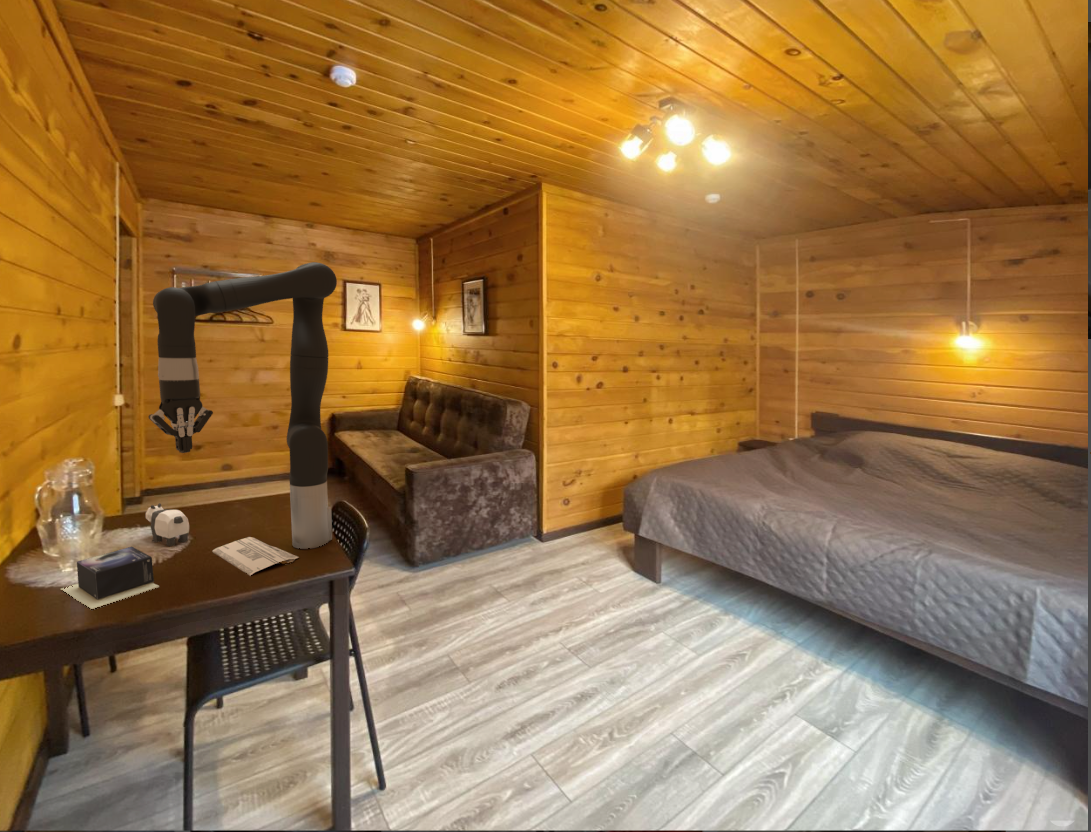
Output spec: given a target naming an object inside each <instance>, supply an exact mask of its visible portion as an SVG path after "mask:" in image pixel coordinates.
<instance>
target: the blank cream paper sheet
mask: <svg viewBox="0 0 1091 832" xmlns="http://www.w3.org/2000/svg"><path fill="white" fill-rule="evenodd" d="M72 586H73V587H72ZM72 586H71V585H69V587H68V586H66V588H65V589H64V587H61V588H60V591H61V590H63V591H64V592H66V593H67V594H66V593H65V594H66V595H68V594H69V595H70V596H69V595H68V596H69V597H71V596H72V597H73V598H72V597H71V598H72V599H74V600H75V599H76V601H77V602H78V601H79V602H78V603H80V602H81V603H80V604H82V605H83V604H84V605H83V606H85V605H86V606H87V607H86V606H85V607H86V608H88V607H89V608H90V609H89V608H88V609H89V610H91V609H94V610H96V609H95V608H97V607H100V608H102V607H101V606H103V605H106V606H108V605H107V604H109V605H111V604H110V603H112V604H114V603H113V602H115V603H117V602H116V601H118V602H120V601H122V599H123V600H126V599H129V598H132V597H134V595H135V596H138V595H140V593H141V594H144V593H146V591H147V592H150V591H153V590H155V588H156V589H158V588H160V585H158V584H156V583H154V582H151V583H148V584H145V585H142V586H138V587H135V588H132V589H129V590H126V591H123V592H120V593H117V594H114V595H111V596H108V597H105V598H101V599H98V600H97V599H95V598H94V597H93V596H91V595H90V594H88V593H87V592H85V591H84V590H83V589H81V588H80V587H79V585H78V583H74V584H72ZM67 587H68V588H67ZM152 589H153V590H152ZM149 590H150V591H149ZM63 591H62V592H63ZM64 592H63V593H64ZM143 592H144V593H143ZM131 596H132V597H131ZM128 597H129V598H128ZM125 598H126V599H125ZM119 600H120V601H119ZM103 607H104V606H103ZM97 609H98V608H97Z"/></svg>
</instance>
